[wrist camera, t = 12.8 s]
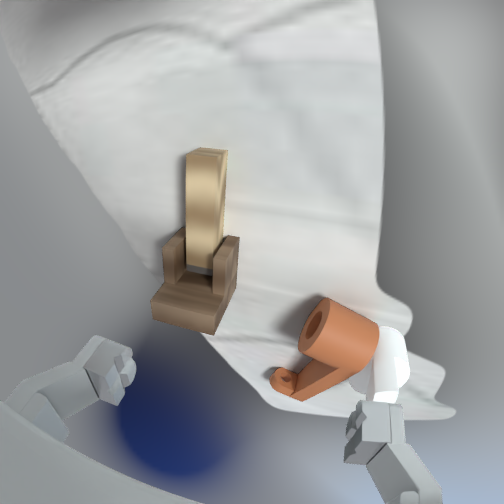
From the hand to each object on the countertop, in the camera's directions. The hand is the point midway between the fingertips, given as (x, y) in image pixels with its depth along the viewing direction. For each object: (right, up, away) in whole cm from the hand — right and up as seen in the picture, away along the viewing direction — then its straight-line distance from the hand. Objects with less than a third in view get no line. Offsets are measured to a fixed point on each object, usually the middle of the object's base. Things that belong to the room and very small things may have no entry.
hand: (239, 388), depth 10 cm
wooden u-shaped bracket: (-5, +4, +33) cm, 34 cm away
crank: (+10, -9, +37) cm, 40 cm away
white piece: (+20, -10, +35) cm, 41 cm away
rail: (-5, +11, +30) cm, 32 cm away
